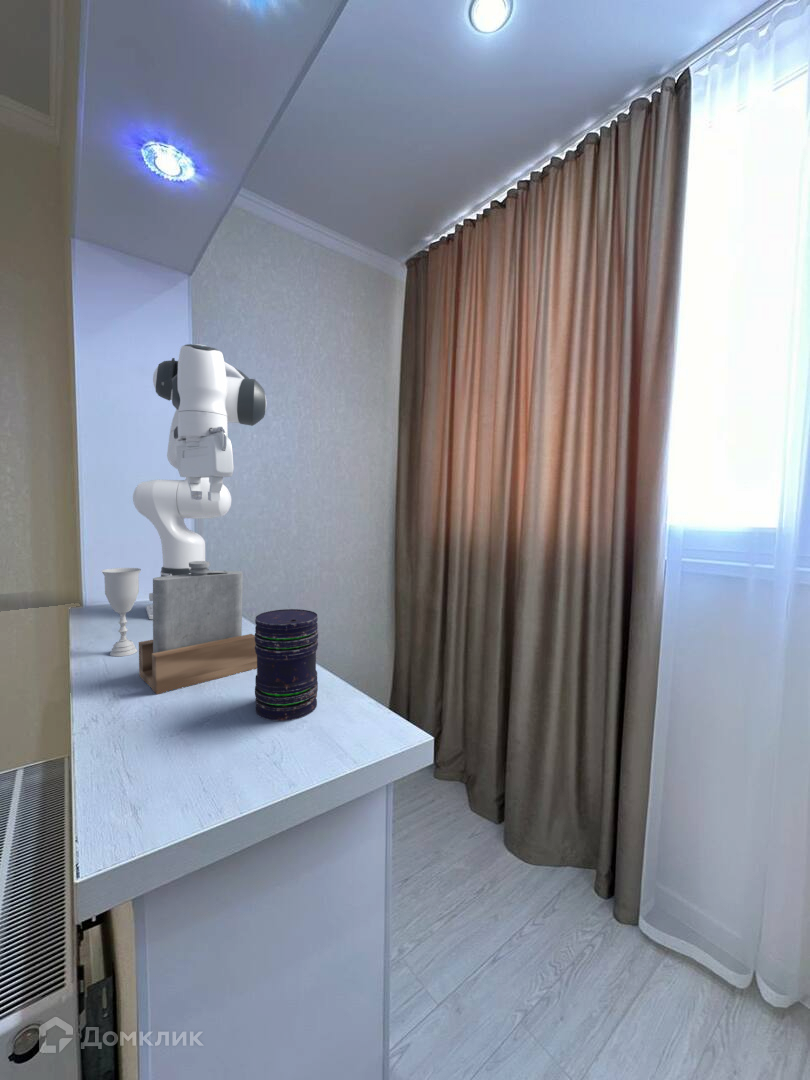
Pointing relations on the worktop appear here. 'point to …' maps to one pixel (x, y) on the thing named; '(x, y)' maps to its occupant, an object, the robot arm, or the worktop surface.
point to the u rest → (195, 662)
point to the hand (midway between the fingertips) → (204, 500)
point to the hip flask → (196, 607)
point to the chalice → (122, 602)
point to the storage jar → (286, 664)
